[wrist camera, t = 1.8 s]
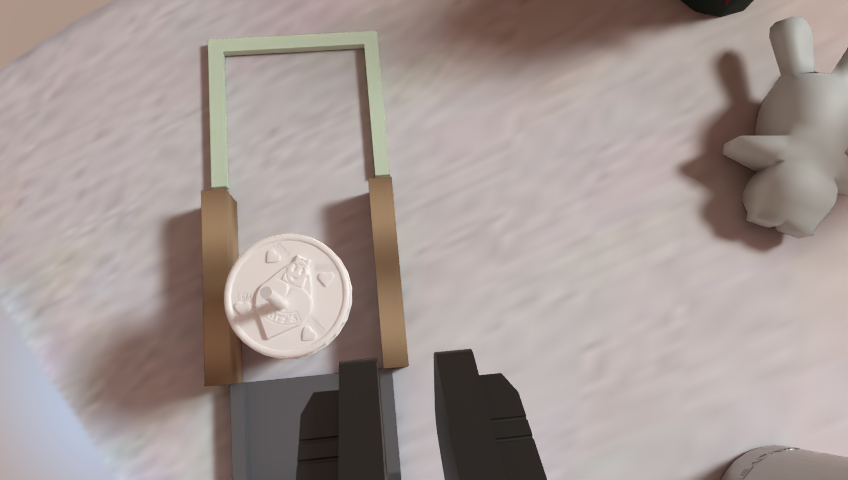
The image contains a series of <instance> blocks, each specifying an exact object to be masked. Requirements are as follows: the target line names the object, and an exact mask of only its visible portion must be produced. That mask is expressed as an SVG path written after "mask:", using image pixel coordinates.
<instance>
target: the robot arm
mask: <svg viewBox="0 0 848 480" xmlns="http://www.w3.org/2000/svg"><path fill="white" fill-rule="evenodd" d="M434 390H435V416H436V426H437V434H438V441H439V447H440V453H441V459H442V465H443V471H444V477H445V480H547V478H546V475H545V472H544V469H543V466H542V463H541V460H540V457H539V454H538V451H537V447H536V444H535V441H534V439H533V438H532V432H531V429H530V426H529V423H528V420H526V414H525V411H524V408H523V405H522V402H521V399H520V396H519V393H518V391H517V390H516V389H515V388H514V387H513V386H512V385H511V384H510V382H509V381H508V380H507V379H506V378H505V377H504V376H503V375H502V374H501V373H498V374H488V375H479V374H478V370H477V366H476V362H475V359H474V355H473V352H472V350H471V349H464V350H454V351H444V352H435V353H434ZM296 480H387V476H386V462H385V448H384V434H383V422H382V410H381V399H380V388H379V377H378V366H377V358H373V359H363V360H352V361H342V362H339V390H331V391H322V392H313V394H312V396H311V397H310V399H309V401H308V403H307V405H306V406H305V408H304V410H303V412H302V413H301V416H300V430H299V445H298V456H297V469H296ZM721 480H848V457H843V456H837V455H831V454H826V453H820V452H814V451H808V450H803V449H800V448H791V447H783V446H775V445H774V446H766V447H759V448H757V449H754V450H751V451H749V452H747V453H745V454H744V455H742V456H741V457H739V458H738V459H736V460H735V461H734V462H733V463H732V465H731V466H730V467H729V468H728V469H727V470H726V472H725V473H724V475H723V477H722V479H721Z"/></svg>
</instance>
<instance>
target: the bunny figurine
mask: <svg viewBox="0 0 848 480" xmlns="http://www.w3.org/2000/svg"><path fill="white" fill-rule="evenodd" d="M769 38H770V41H771V44H772V47H773V51H774V54H775V57H776V60H777V63H778V67H779V70H780V73H781V77H780V78H779V79H778V81H777V82H776V83H775V85H774V86H773V88H772V89H771V90H770V92H769V93H768V94H767V96H766V97H765V99H764V100H763V102H762V105H761V107H760V110H759V112H758V117H757V122H756V128H755V136H738V137H736V138H734V139H733V140H731V141H729V142H727V143H725V144H724V146H723V155H725V156H727V157H729V158H731V159H733V160H734V161H736V162H738V163H740V164H742V165H744V166H746V167H748V168H750V169H752V170H753V171H755V172H756V173H755V174H754V175H753V176H752V177H751V178H750V179H749V180H748V182H747V184H746V186H745V188H744V191H743V196H742V199H743V204H744V206H745V208H746V210H747V212H748V214H747V218H746V221H749V222H752V223H755V224H758V225H761V226H764V227H767V228H769V227H773V226H776V230H777V231H779V232H782V233H785V234H788V235H791V236H794V237H797V238H802V237H808V236H813V234H814V230H815V227H816V226H817V225H818V224H819V223H820V222H821V221H822V220H823V219H824V218H825V217H826V216H827V215H828V213H829V212H830V210H831V209H832V207H833V206H834V204H835V203H836V199H837V194H841V195H847V196H848V156H847V155H846V154H845V152H846V151H847V149H848V49H847V50H846V52H845V53H844V55H843V56H842V58H841V59H840V61H839V62H838V64H837V66H836V67H835V69H834V70H833V72H832V73H831V74H826V73H819V72H814V52H813V33H812V29H811V27H810V24H809V23H808V22H807V21H806V20H805V19H803V18H802V17H790V18H787V19H784V20H781V21H778V22H776V23H775V24H774V25H773V26H772V27H771V28H770V34H769Z"/></svg>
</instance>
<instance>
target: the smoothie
mask: <svg viewBox="0 0 848 480" xmlns="http://www.w3.org/2000/svg"><path fill="white" fill-rule="evenodd" d="M351 305H352V285H351V281H350V278H349V274H348V271H347V270H346V268H345V266H344V264H343V263H342V261H341V259H340V258H339V257H338V256H337V255H336V254H335V253H334V252H333V251H332V250H331V249H330V248H329V247H327V246H326V245H325V244H323V243H322V242H320V241H318V240H316V239H314V238H311V237H308V236H305V235H300V234H280V235H275V236H271V237H268V238H265V239H263V240H261V241H259V242H257V243H255V244H254V245H252V246H251V247H249V248H248V249H247V250H246V251H245V252H244V253H243V254H242V255H241V256H240V257H239V258H238V259H237V261H236V262H235V264H234V265H233V267H232V269H231V271H230V273H229V275H228V278H227V281H226V285H225V290H224V306H225V312H226V315H227V319H228V321H229V323H230V325H231V327H232V329H233V331H234V332H235V333H236V335H237V336H238V337H239V338H240V339H241V340H242V341H243V342H244V343H245V344H246V345H247V346H249V347H250V348H252V349H254V350H255V351H257V352H259V353H261V354H263V355H265V356H269V357H273V358H277V359H298V358H301V357H305V356H308V355H312V354H314V353H316V352H317V351H319V350H321V349H323V348H324V347H326V346H328V345H329V344H330V343H331V342H332V341H333V339H334V338H335V337H336V336H337V335H338V334H339V333H340V332H341V330H342V328H343V326H344V325H345V323H346V321H347V320H348V316H349V313H350V309H351Z"/></svg>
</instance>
